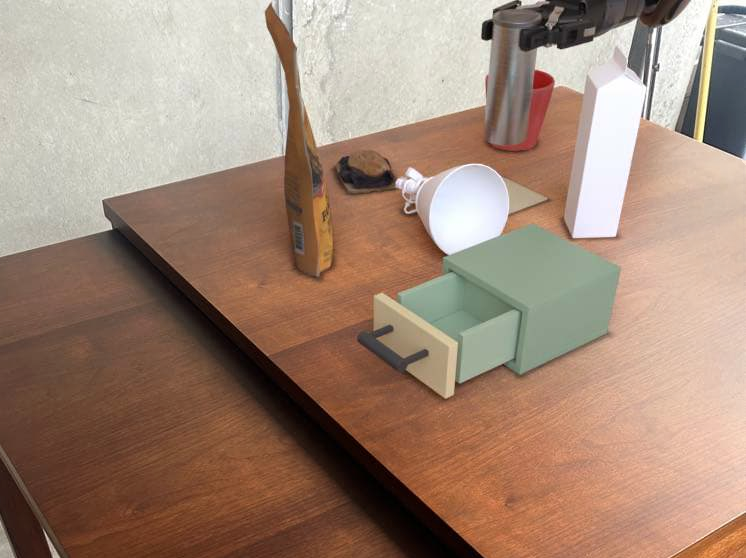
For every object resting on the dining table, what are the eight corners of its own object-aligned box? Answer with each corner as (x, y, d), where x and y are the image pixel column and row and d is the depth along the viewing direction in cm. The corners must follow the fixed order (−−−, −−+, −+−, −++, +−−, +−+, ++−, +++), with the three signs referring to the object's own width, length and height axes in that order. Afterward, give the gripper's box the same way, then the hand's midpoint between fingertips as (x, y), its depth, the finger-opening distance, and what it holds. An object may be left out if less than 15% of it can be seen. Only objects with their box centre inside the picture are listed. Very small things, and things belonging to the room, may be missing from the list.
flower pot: (537, 128, 145) (545, 64, 138) (552, 153, 137) (562, 88, 130) (474, 131, 145) (479, 68, 138) (486, 157, 137) (492, 91, 130)
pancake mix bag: (284, 286, 110) (264, 41, 90) (281, 219, 123) (263, -7, 104) (337, 283, 110) (328, 38, 90) (328, 216, 124) (319, -9, 104)
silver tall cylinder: (527, 129, 122) (541, 9, 112) (527, 146, 118) (542, 23, 107) (483, 128, 123) (493, 8, 113) (481, 145, 119) (491, 22, 108)
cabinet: (519, 375, 95) (529, 307, 89) (438, 322, 103) (442, 257, 97) (607, 333, 100) (621, 267, 94) (523, 286, 108) (532, 222, 102)
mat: (500, 177, 132) (500, 175, 131) (547, 199, 126) (547, 197, 125) (450, 195, 128) (450, 193, 127) (496, 219, 122) (496, 216, 122)
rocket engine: (401, 129, 120) (463, 144, 106) (459, 175, 127) (525, 195, 112) (358, 205, 123) (412, 229, 109) (416, 246, 130) (475, 274, 115)
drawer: (413, 414, 89) (415, 361, 84) (342, 359, 96) (341, 308, 92) (532, 357, 96) (540, 306, 91) (458, 310, 103) (462, 260, 98)
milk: (572, 239, 117) (601, 60, 101) (563, 219, 121) (590, 44, 106) (617, 237, 117) (653, 58, 101) (606, 217, 121) (640, 42, 106)
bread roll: (332, 167, 136) (331, 143, 134) (384, 161, 137) (384, 137, 134) (345, 195, 129) (344, 170, 126) (400, 189, 130) (400, 164, 127)
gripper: (547, -32, 119) (463, -7, 111) (635, -14, 111) (551, 14, 104) (540, 29, 124) (459, 57, 117) (623, 51, 117) (543, 82, 109)
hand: (503, 36), depth 110 cm, fingers closed on silver tall cylinder, 6 cm apart
